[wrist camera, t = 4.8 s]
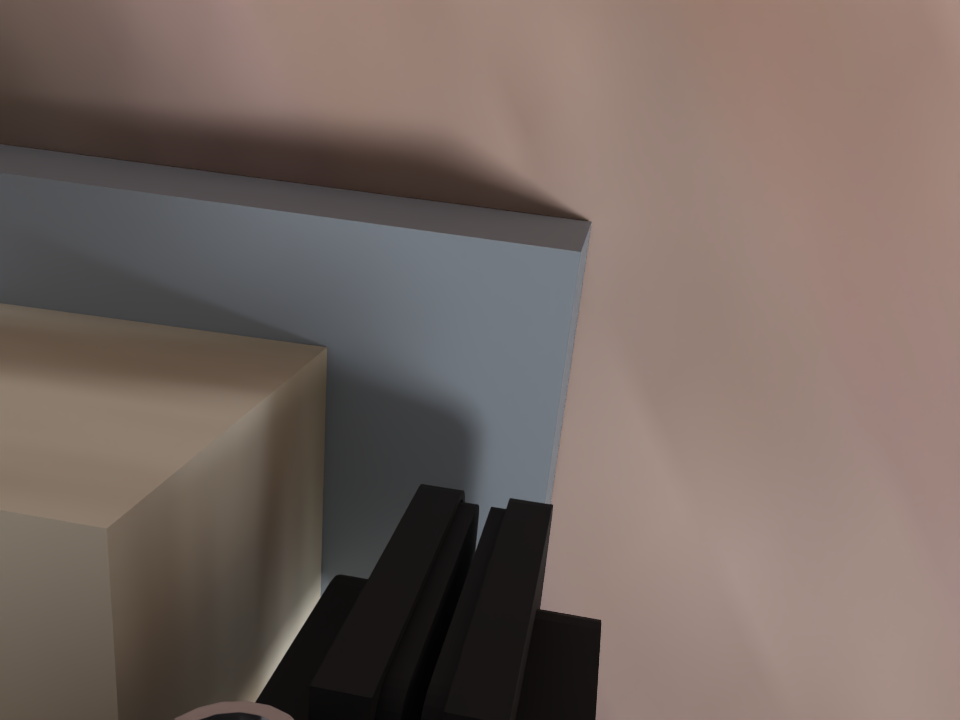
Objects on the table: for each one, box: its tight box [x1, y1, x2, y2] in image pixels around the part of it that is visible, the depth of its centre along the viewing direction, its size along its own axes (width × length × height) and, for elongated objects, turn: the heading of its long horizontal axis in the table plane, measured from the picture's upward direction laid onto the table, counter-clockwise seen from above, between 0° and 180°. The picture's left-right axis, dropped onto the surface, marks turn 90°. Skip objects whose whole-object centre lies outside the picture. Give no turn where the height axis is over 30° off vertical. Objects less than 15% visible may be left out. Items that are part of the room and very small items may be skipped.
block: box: [0, 303, 327, 720], centre depth 10 cm, size 5×5×5 cm
